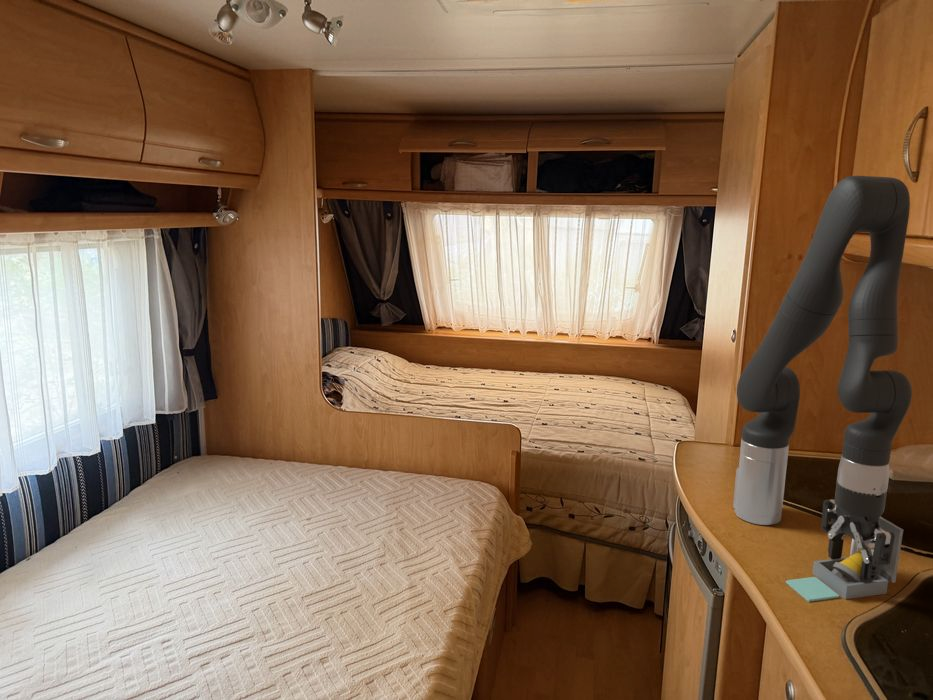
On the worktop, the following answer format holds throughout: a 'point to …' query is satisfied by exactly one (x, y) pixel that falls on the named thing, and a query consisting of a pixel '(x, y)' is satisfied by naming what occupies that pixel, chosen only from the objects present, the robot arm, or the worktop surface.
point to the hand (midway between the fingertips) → (850, 569)
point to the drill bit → (849, 568)
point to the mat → (812, 589)
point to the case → (862, 589)
